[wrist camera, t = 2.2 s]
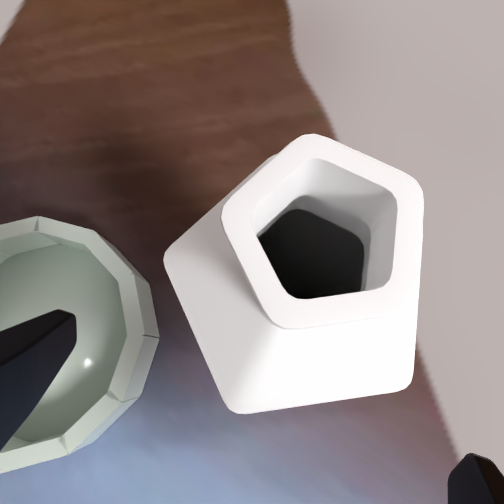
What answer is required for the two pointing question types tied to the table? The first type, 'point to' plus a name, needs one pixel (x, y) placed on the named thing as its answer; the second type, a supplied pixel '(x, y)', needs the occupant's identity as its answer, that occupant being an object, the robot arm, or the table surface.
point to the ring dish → (88, 332)
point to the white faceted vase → (305, 279)
